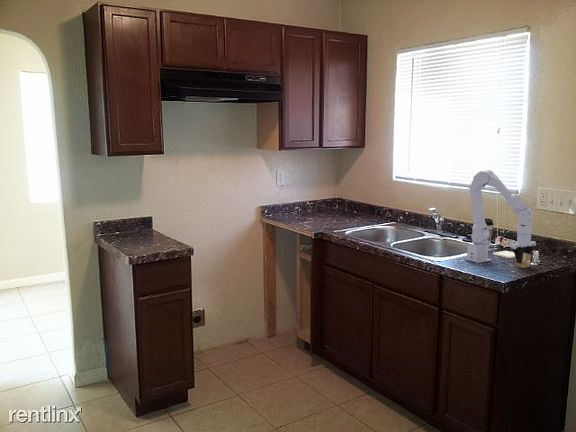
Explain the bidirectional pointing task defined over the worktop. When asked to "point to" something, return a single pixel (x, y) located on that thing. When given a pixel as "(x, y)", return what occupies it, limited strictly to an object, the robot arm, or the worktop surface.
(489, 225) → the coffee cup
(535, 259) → the grey white arch
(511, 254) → the cream pad
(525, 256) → the maple block
